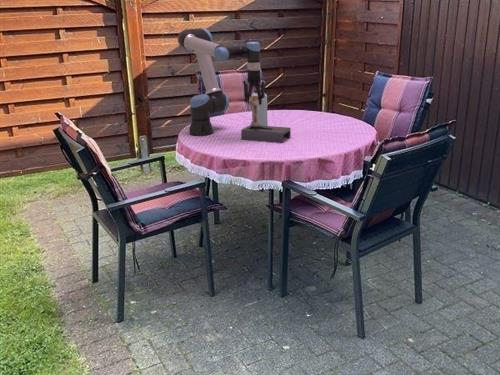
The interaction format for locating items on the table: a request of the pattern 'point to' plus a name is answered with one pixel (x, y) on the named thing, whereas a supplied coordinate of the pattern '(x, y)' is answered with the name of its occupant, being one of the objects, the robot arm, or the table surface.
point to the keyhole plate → (265, 133)
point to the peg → (254, 110)
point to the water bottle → (261, 110)
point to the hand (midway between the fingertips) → (254, 109)
